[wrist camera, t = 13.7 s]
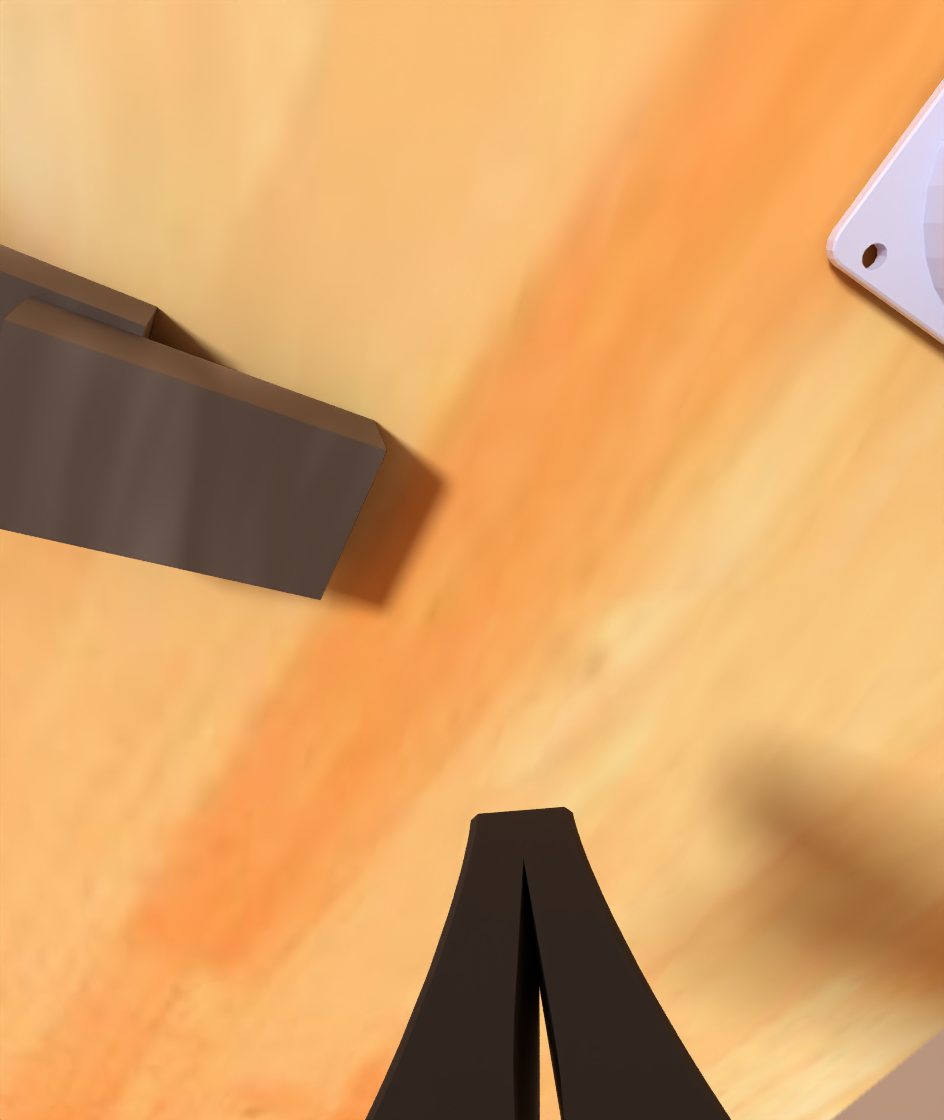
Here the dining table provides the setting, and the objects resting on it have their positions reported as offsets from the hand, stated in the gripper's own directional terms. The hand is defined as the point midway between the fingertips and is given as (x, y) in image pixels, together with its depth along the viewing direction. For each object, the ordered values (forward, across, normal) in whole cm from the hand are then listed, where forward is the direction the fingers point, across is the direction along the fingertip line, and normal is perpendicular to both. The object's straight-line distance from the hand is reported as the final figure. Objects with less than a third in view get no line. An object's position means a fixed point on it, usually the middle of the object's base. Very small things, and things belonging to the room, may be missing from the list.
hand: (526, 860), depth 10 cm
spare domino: (+9, +4, -2) cm, 10 cm away
